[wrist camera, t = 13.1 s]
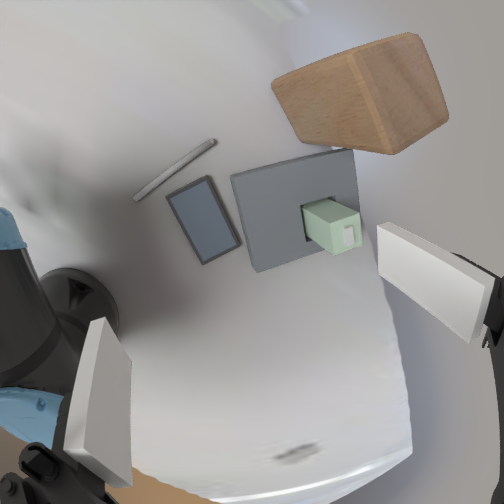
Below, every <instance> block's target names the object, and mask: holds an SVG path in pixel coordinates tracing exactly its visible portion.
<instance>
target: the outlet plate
mask: <svg viewBox="0 0 504 504" xmlns="http://www.w3.org/2000/svg"><path fill="white" fill-rule="evenodd" d="M230 179H231V183H232V187H233V191H234V195H235V199H236V203H237V207H238V211H239V215H240V219H241V223H242V227H243V231H244V235H245V239H246V243H247V247H248V251H249V255H250V259H251V263H252V266H253V268H254V269H255V271H256V272H257V273H258V272H261V271H264V270H267V269H270V268H273V267H276V266H279V265H282V264H285V263H287V262H290V261H293V260H296V259H299V258H302V257H305V256H307V255H310V254H313V253H316V252H319V251H322V250H324V248H323V247H321V246H320V245H319V244H318V243H316V242H315V241H314V240H312V239H311V238H310V237H308V236H307V235H305V233H304V227H303V221H302V215H301V209H300V205H303V204H306V203H310V202H313V201H316V200H320V199H323V198H327V197H328V199H330V200H332V201H335V202H337V203H339V204H341V205H343V206H346V207H348V208H350V209H352V210H354V211H356V212H359V213H360V206H359V196H358V187H357V178H356V169H355V162H354V154H353V150H352V149H347V148H342V149H337V150H332V151H327V152H322V153H318V154H313V155H309V156H304V157H300V158H296V159H291V160H287V161H283V162H279V163H275V164H271V165H267V166H263V167H259V168H256V169H252V170H248V171H244V172H241V173H237V174H233V175H230ZM360 222H361V217H360ZM361 232H362V230H361Z"/></svg>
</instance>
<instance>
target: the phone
mask: <svg viewBox="0 0 504 504" xmlns="http://www.w3.org/2000/svg"><path fill="white" fill-rule="evenodd" d="M166 199H167V201H168V203H169V205H170V207H171V208H172V210H173V212H174V214H175V216H176V218H177V220H178V222H179V223H180V225H181V227H182V229H183V231H184V233H185V235H186V236H187V238H188V240H189V242H190V244H191V246H192V247H193V249H194V251H195V253H196V255H197V256H198V258H199V260H200V262H201V264H202V265H204V264H206V263H208V262H210V261H212V260H214V259H216V258H218V257H220V256H222V255H224V254H226V253H227V252H229V251H231V250H233V249H235V248H237V247H239V246H240V244H239V242H238V240H237V238H236V236H235V234H234V232H233V229H232V227H231V225H230V223H229V221H228V219H227V217H226V215H225V213H224V211H223V208H222V206H221V204H220V202H219V200H218V198H217V196H216V194H215V192H214V189H213V187H212V185H211V183H210V181H209V179H208V177H207V175H206V176H203V177H201V178H199V179H197V180H195V181H193V182H191V183H189V184H188V185H186V186H184V187H182V188H180V189H178V190H176V191H174V192H172V193H170V194H168V195H166Z"/></svg>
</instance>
